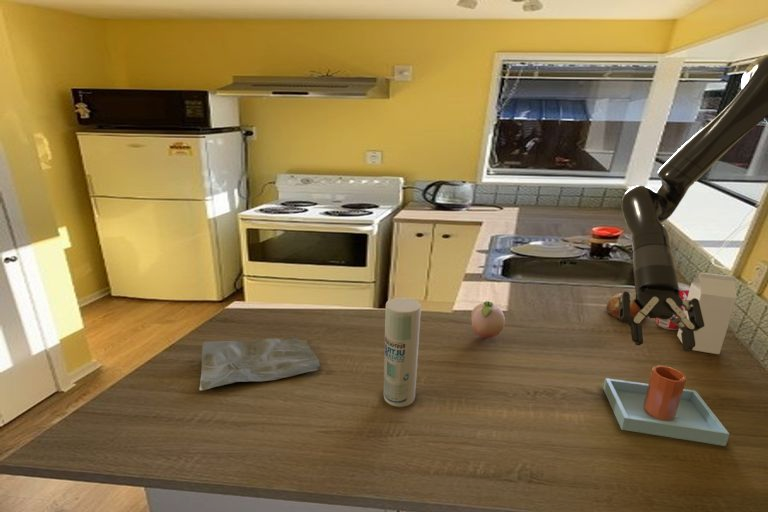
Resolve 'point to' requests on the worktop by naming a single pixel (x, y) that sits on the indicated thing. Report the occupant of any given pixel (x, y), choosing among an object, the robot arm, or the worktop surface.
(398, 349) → the spray can
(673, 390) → the cup
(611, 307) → the bread roll
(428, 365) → the worktop surface
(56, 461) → the worktop surface
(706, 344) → the milk carton
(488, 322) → the decorative fruit
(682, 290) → the soda can
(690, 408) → the tray
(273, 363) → the grey flat pouch
